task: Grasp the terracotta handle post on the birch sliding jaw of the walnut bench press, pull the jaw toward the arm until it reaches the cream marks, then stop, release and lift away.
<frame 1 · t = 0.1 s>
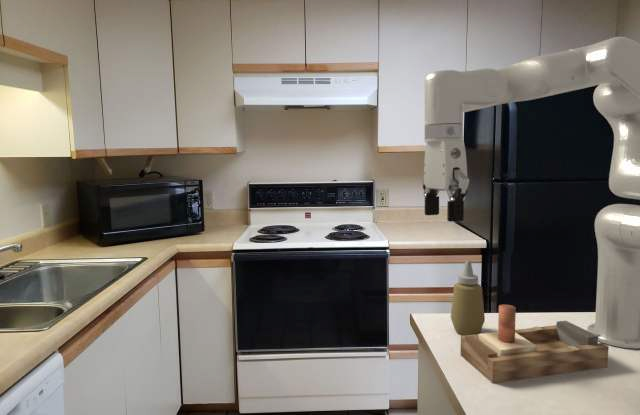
hand: (443, 217, 88), 31 cm above the counter, tool pointing down, fingers open, 9 cm apart
squeeze bottle: (467, 332, 106), on the counter
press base: (531, 360, 90), on the counter
carriage: (506, 330, 88), point 7 cm above the counter, slide at 0.0 cm
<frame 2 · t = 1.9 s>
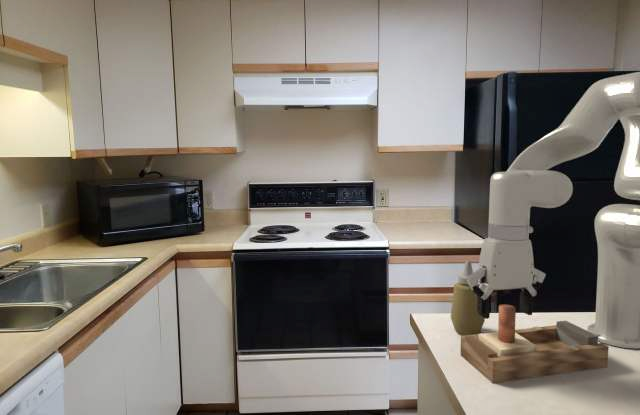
hand: (504, 314, 88), 11 cm above the counter, tool pointing down, fingers open, 9 cm apart
nothing on the counter moved.
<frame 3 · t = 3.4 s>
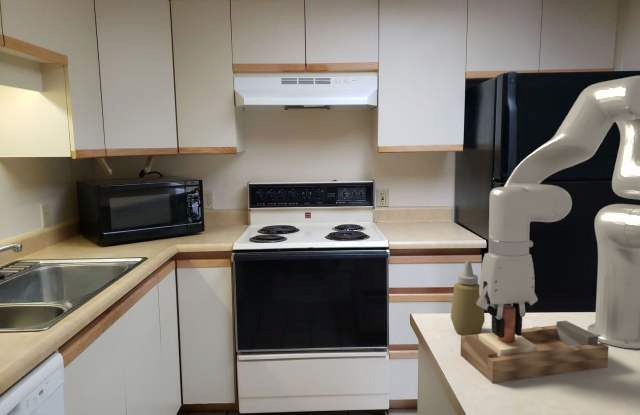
hand: (506, 333, 88), 7 cm above the counter, tool pointing down, fingers closed on carriage, 3 cm apart
carriage: (506, 330, 88), point 7 cm above the counter, slide at 0.0 cm, touching gripper
everything else where it was.
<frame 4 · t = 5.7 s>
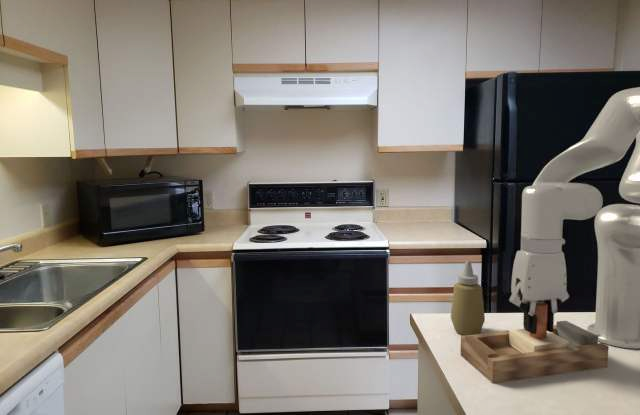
hand: (538, 329, 90), 7 cm above the counter, tool pointing down, fingers closed on carriage, 3 cm apart
carriage: (538, 327, 90), point 7 cm above the counter, slide at 7.4 cm, touching gripper
everything else where it was.
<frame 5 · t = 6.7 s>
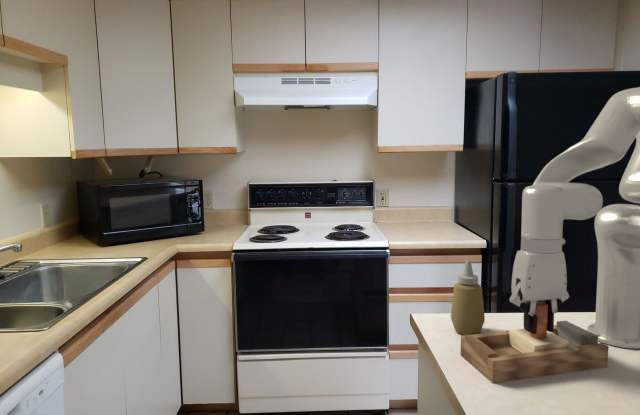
hand: (538, 329, 90), 7 cm above the counter, tool pointing down, fingers closed on carriage, 3 cm apart
carriage: (538, 327, 90), point 7 cm above the counter, slide at 7.5 cm, touching gripper
everything else where it was.
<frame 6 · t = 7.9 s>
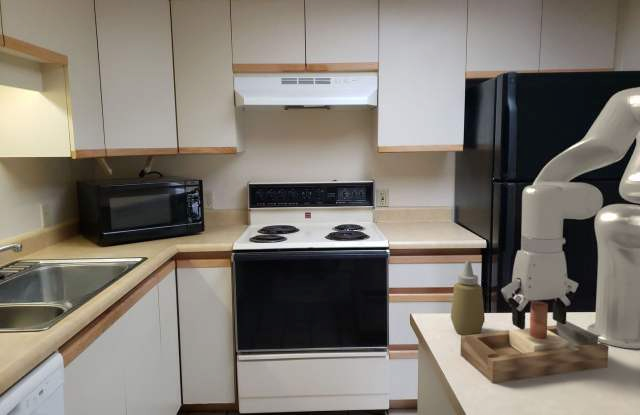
hand: (539, 324, 90), 8 cm above the counter, tool pointing down, fingers open, 9 cm apart
carriage: (538, 327, 90), point 7 cm above the counter, slide at 7.5 cm
everything else where it was.
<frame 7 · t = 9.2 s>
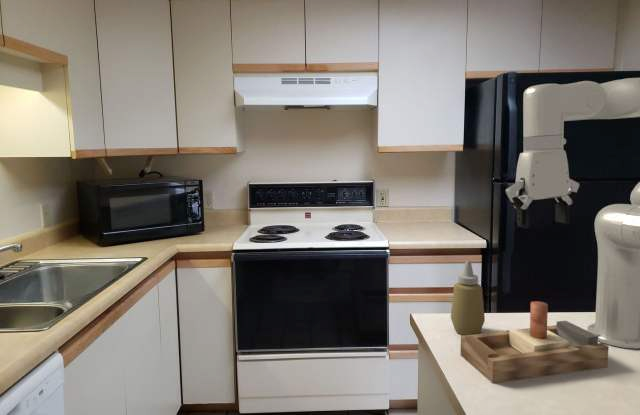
hand: (542, 224, 92), 28 cm above the counter, tool pointing down, fingers open, 9 cm apart
nothing on the counter moved.
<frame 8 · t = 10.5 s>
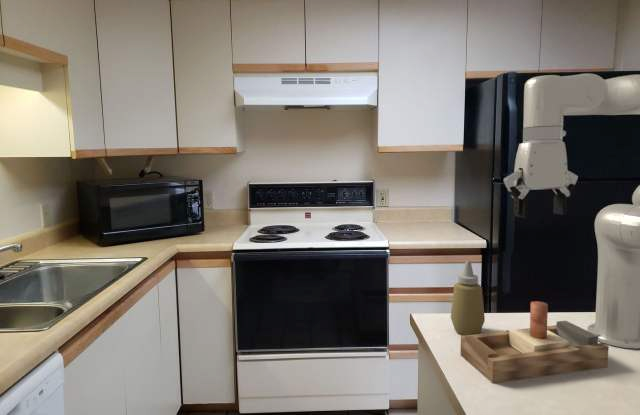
hand: (540, 215, 93), 30 cm above the counter, tool pointing down, fingers open, 9 cm apart
nothing on the counter moved.
at the end: carriage slide at 7.5 cm; the gripper is holding nothing; squeeze bottle moved 0.2 cm from its start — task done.
